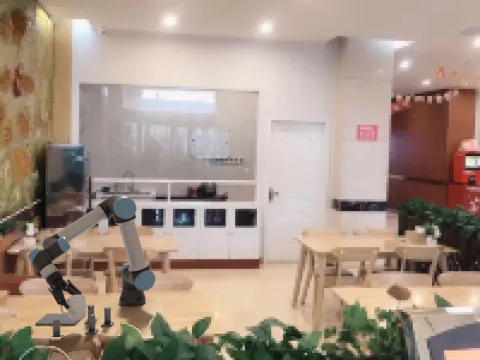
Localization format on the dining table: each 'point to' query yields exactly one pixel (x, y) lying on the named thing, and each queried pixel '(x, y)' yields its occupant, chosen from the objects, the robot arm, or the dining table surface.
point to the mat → (50, 318)
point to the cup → (76, 307)
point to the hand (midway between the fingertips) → (79, 310)
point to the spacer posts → (88, 322)
